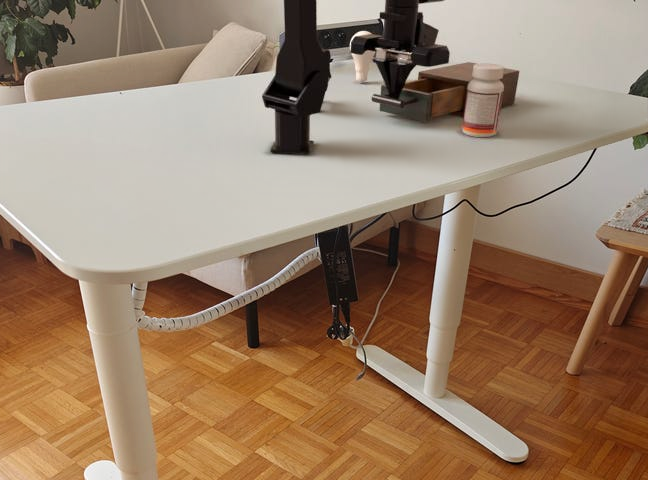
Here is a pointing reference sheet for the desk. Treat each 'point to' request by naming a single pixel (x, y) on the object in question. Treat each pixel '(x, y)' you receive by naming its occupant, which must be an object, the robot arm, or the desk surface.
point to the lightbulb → (362, 60)
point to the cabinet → (464, 76)
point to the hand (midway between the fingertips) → (394, 100)
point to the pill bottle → (483, 100)
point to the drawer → (423, 99)
